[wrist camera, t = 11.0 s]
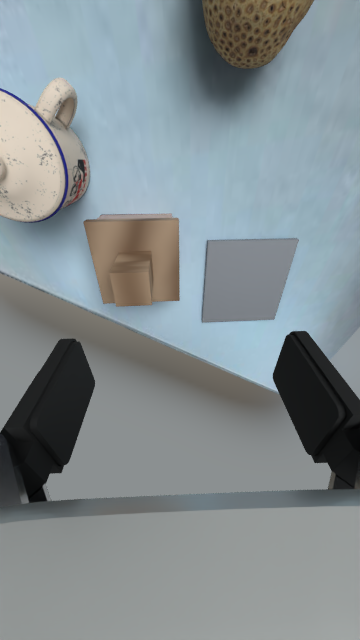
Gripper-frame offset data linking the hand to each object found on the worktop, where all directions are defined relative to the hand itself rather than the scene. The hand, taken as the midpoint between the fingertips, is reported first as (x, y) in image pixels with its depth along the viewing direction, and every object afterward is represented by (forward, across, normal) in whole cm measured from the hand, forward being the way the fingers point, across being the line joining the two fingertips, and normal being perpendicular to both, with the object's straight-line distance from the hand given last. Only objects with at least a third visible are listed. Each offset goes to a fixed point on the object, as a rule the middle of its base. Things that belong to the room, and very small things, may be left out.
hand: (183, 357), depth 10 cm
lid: (+19, +5, +3) cm, 20 cm away
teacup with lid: (+24, +13, -8) cm, 29 cm away
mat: (+25, -11, +9) cm, 28 cm away
